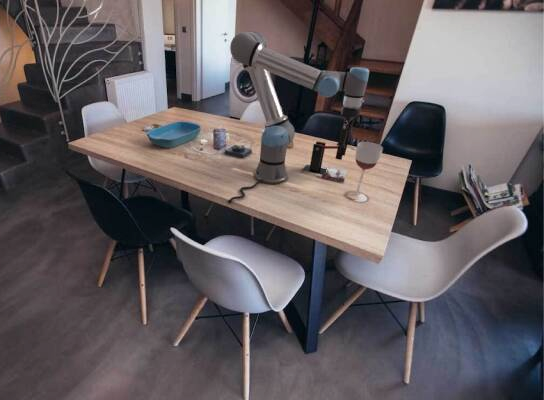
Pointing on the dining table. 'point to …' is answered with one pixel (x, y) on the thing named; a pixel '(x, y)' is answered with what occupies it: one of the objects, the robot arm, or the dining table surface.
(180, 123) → the casserole dish
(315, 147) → the bracket
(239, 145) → the button
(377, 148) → the wineglass
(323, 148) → the lever
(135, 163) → the dining table surface
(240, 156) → the button box
